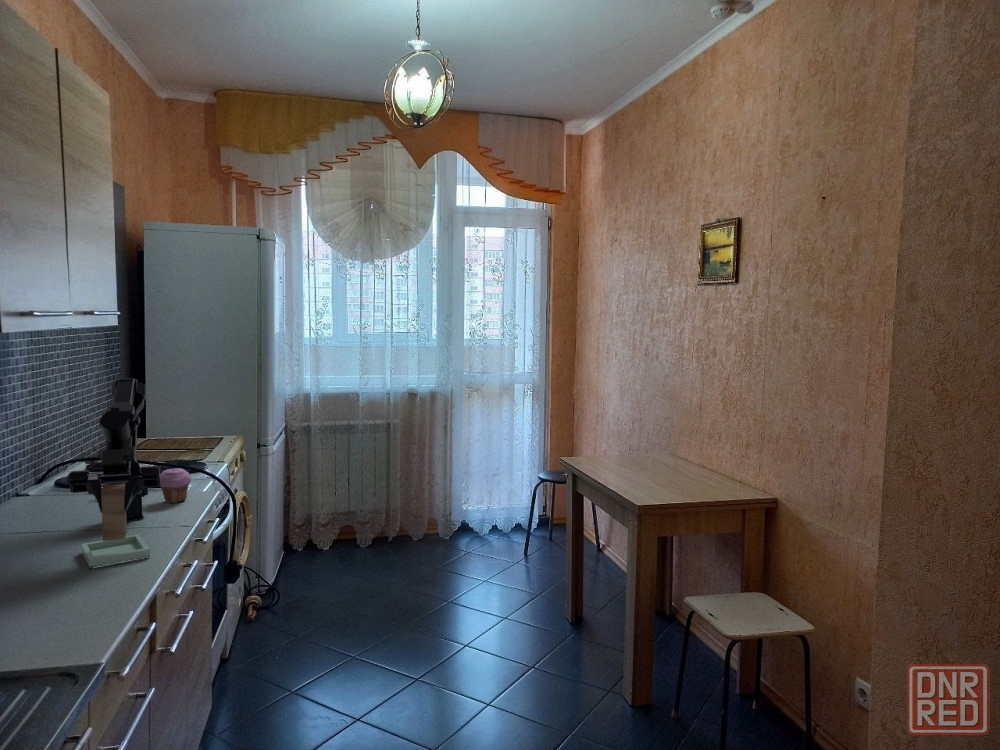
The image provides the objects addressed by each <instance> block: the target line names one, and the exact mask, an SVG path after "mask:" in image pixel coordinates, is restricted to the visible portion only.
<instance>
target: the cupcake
mask: <svg viewBox="0 0 1000 750" xmlns="http://www.w3.org/2000/svg"><path fill="white" fill-rule="evenodd" d="M160 475H161V485H160V486H159V487H160V488H161V491H162V495H163V498H164V500H165V501H166V502H168V503H170V504H176V503H179V502H183V501H186V499H187V497H188V489H189V486H190V484H191V482H192V476H191V475H190V473H189V472H188V471H187V470H186V469H184V468H180V467H179V468H178V467H177V468H168V469H165V470H163V471H162V472H160Z"/></svg>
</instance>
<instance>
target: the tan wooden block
mask: <svg viewBox="0 0 1000 750" xmlns="http://www.w3.org/2000/svg"><path fill="white" fill-rule="evenodd" d="M101 498H102V513H101V520H102V522H101V523H102V525H101V526H102V541H109V540H119V539H125V537H126V536H127V533H128V526H127V522H128V521H127V517H126V511H125V510H124V504H125V498H126V483H123V484H109V485H105V484H103V485H102V489H101Z"/></svg>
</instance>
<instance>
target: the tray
mask: <svg viewBox="0 0 1000 750" xmlns="http://www.w3.org/2000/svg"><path fill="white" fill-rule="evenodd" d="M81 554H82V557H83V556H84V557H83V559H84V558H85V559H84V561H85V560H86V561H85V563H86V562H87V563H86V565H87V564H88V565H87V567H88V566H89V567H88V569H89V568H93V567H97V566H103V565H107V564H113V563H117V562H122V561H128V560H134V559H142V558H147V557H150V558H151V550H150V547H149V546H148V545H147V543H146V541H145V540H144V539H143V538H142V537H141V534H131V535H128V536H127V535H126V537H125V539H119V540H109V541H103V540H98V541H92V542H85V543H81ZM142 560H143V559H142Z"/></svg>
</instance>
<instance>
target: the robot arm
mask: <svg viewBox="0 0 1000 750" xmlns="http://www.w3.org/2000/svg"><path fill="white" fill-rule="evenodd" d="M147 390H148V388H147V385H146V383H143V382H141V381H139V380H138V379H137V378H131V377H129V378H128V377H127V378H126V377H125V378H124V377H123V378H118V379H117V378H116V379H115V382H114V383H112V384H111V395H110V396H111V399H112V401H113V404H110V405H108V406H107V407H106V409H105V412H104V413H103V414H102V415H101V417H100V419H99V422H98V423H99V428H100V429H101V432H102V436H103V439H104V441H105V442H104V449H103V450H101V451H100V472H101V474H99V473H90V471H89V469H83V470H72V471H70V472H69V473H68V474H67V480H66V481H67V484H68V487H69V488H68V489H69V490H70V493H74V494H76V493H87V494H88V495H93V496H94V498H95V500H96V502H97V505H98V508H99V511H100V513H101V514H102V498H101V489H102V488H103V486H102V484H103V485H105V484H106V483H108V485H109V484H123V483H126V498H125V504H124V510H125V511H126V517H127V522H131V521H138V520H143V519H145V516H144V515H143V498H145V496H148V495H149V488H156V487H157V488H159V487H160V485H161V467H159V466H158V465H148V466H146V465H145V466H141V465H140V463H139V462H138V461H137V443H138V439H137V438H138V426H139V425H140V423H141V418H140V417H139V413H141V411H142V410H143V409H144V406H145V400H147V398H148V397H147V396H148V393H147Z"/></svg>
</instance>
